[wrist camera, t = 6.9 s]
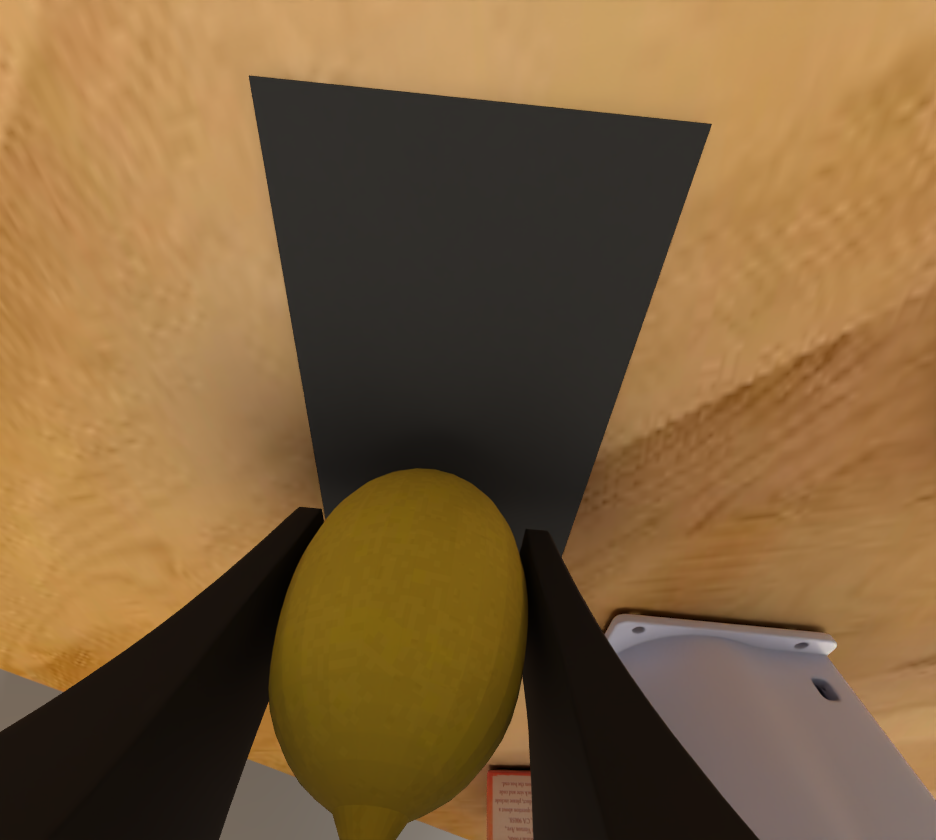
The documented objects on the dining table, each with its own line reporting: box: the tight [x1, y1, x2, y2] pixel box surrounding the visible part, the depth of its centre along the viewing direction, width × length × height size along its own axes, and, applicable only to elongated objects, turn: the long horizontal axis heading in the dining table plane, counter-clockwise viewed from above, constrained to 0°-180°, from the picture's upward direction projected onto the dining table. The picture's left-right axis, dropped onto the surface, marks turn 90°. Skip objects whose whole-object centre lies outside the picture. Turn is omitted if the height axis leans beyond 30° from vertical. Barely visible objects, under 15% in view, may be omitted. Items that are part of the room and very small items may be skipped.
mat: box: [249, 76, 712, 557], centre depth 12 cm, size 9×20×1 cm, turn 175°
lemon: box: [268, 468, 528, 840], centre depth 9 cm, size 6×6×8 cm
